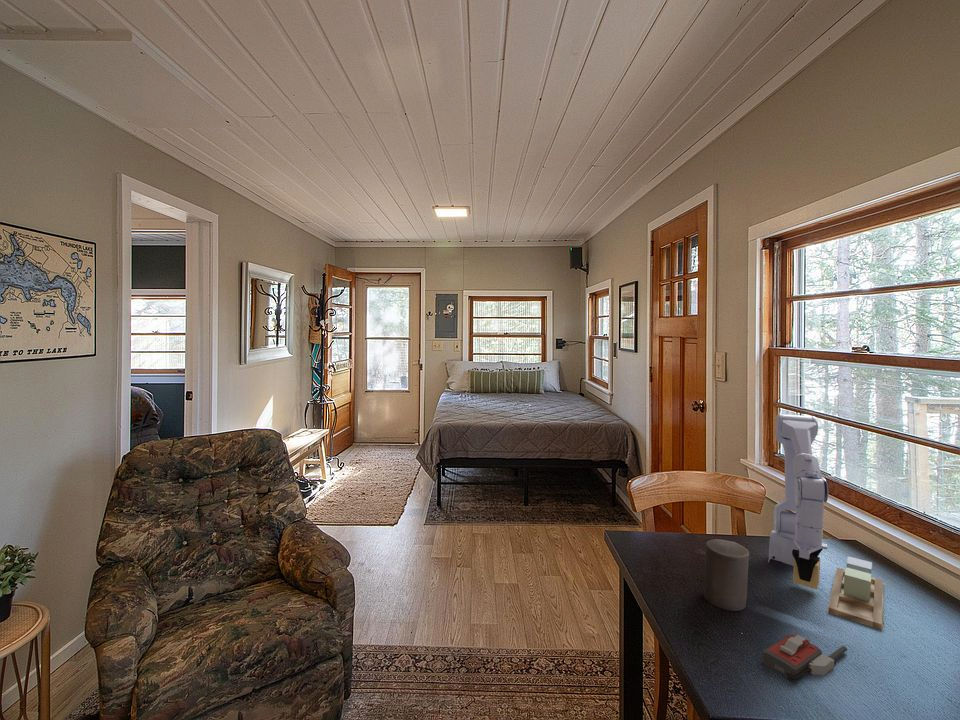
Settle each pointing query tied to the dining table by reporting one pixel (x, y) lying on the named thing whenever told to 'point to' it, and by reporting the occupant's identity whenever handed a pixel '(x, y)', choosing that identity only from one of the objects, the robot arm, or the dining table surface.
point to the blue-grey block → (859, 564)
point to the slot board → (857, 602)
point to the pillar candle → (726, 574)
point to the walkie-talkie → (798, 657)
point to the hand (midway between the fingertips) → (806, 575)
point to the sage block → (857, 584)
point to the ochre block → (814, 578)
